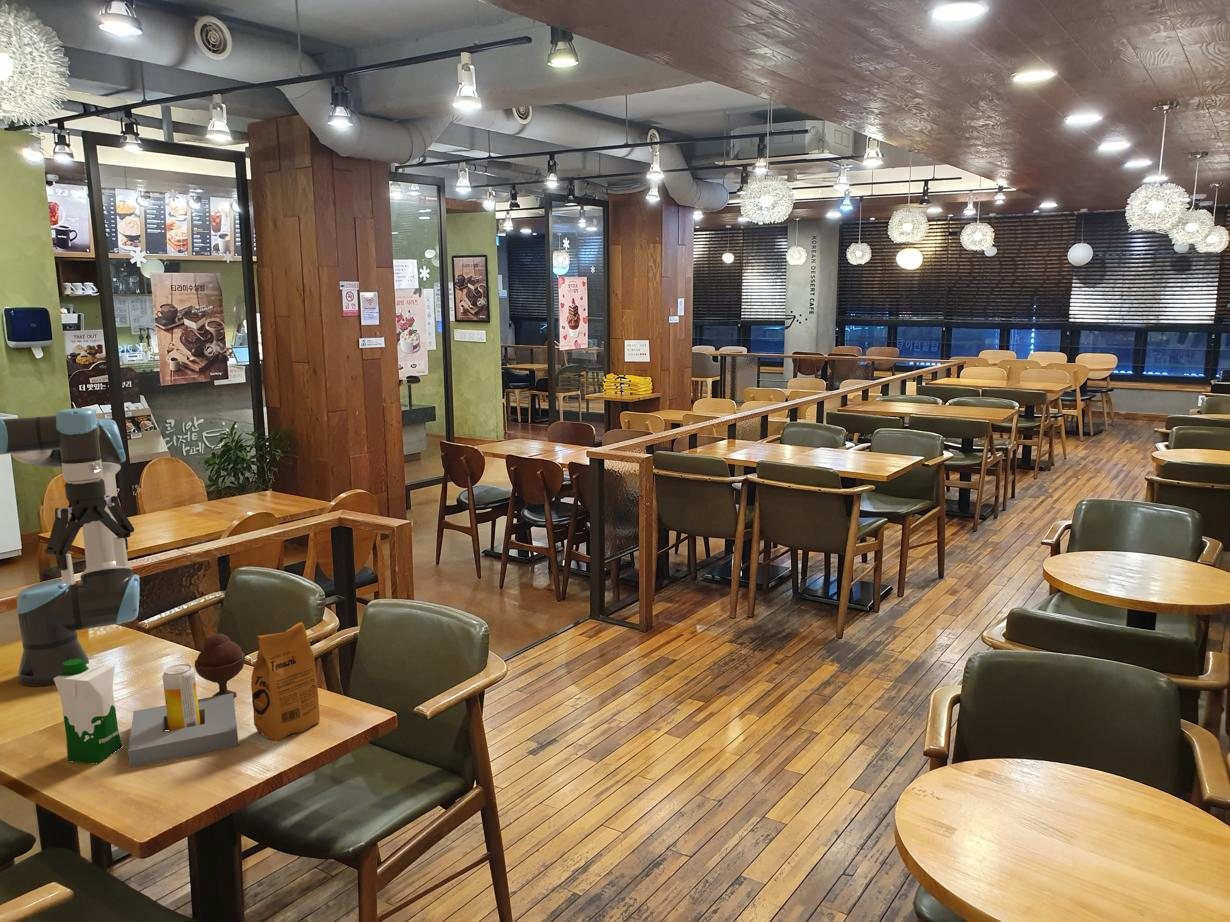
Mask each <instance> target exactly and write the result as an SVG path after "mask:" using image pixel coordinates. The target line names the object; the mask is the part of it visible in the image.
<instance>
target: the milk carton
mask: <svg viewBox="0 0 1230 922" xmlns="http://www.w3.org/2000/svg"><path fill="white" fill-rule="evenodd" d="M63 671H64V672H63V673H62V674H60V675H58V676H57V677H55V678H54V681H55V684H54V685H55V686H56V689H57V692H58V694H59V697H60V701H61V707H62V708H61V709H62V716H63V722H64V730H65V731H64V732H65V736H66V737H65V738H66V753H67V762H68V761H73V762H72V763H79V762H84V763H83V764H91V763H95V764H94V765H99V764H100V762H101V761H102V762H103V760H104V759H105V760H107V759H108V758H110V757H111V756H112V755H111V754H113V753H114V752H115V751H117V750H118V749H120V748H121V747H122V746H123V742H122V739H121V735H120V730H119V727H118V725H119V724H118V717H117V710H116V703H115V702H116V701H115V696H114V694H115V693H114V679H115V678H114V676H115V665H105V664H102V663H100V664H96V663H89V664H86V660H85V658H74V659H70V660H67V661H65V662H64V663H63ZM121 749H122V748H121ZM121 749H120V750H121ZM118 751H119V750H118ZM118 751H117V752H118ZM115 753H116V752H115ZM115 753H114V754H115ZM114 754H113V755H114ZM110 755H111V756H110ZM109 756H110V757H109ZM107 757H108V758H107ZM106 758H107V759H106ZM105 760H104V761H105ZM102 762H101V763H102ZM96 763H97V764H96Z"/></svg>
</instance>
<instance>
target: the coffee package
mask: <svg viewBox="0 0 1230 922" xmlns="http://www.w3.org/2000/svg"><path fill="white" fill-rule="evenodd" d="M256 641H257V643H258V646H259V648H258V650H257V655H256V661H255V663H254V664H253V669H252V673H251V683H250V688H251V702H252V708H253V725H254V727H255V728H256V731H257V733H259V734H262V735H263V736H264V737H266V739H268V740H271V741H276V742H277V741H281V740H282V739H285V738H286V737H287V736H289V735H292V734H296V733H297V734H298V733H303V732H305V731H306V730H308V729H310V728H311V727H313V726H314V725H316V724H318V723H320V721H321V719H320V718H321V716H320V713H321V712H320V705H319V691H318V680H317V679H318V678H317V671H316V668H317V667H316V662H315V658H314V652H313V649H312V646H311V643H310V641H309V638H308V634H307V631H306V627H305V626H304V623H303V622H297V623H296V624H294V625H292V627H290V628H289V629H287V630H286V631H285V632H278V633H271V634H270V633H269V634H262V635H257V636H256Z"/></svg>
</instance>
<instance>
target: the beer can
mask: <svg viewBox="0 0 1230 922" xmlns="http://www.w3.org/2000/svg"><path fill="white" fill-rule="evenodd" d="M196 681H197V680H196V673H195V669H194V668H193V666H192V664H189V663H179V664H178V663H177V664H174V665H171V666H168V667H166V668H165V669H164V670H163V674H162V685H163V691H164V700H165V701H164V702H165V705H166V710H167V719H168V727H169V731H171V730H176V729H181V728H186V727H191V726H197V725H200V716H199V707H198V691H197V682H196Z"/></svg>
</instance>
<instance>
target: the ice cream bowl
mask: <svg viewBox="0 0 1230 922" xmlns="http://www.w3.org/2000/svg"><path fill="white" fill-rule="evenodd" d="M245 659H246V654H245V652H243V651H242V648H241V646H240V644H238V643H236V642H234V641H231V639H230V638H229V636H228V635H226V634H224V633H214V634H212V635H210V636H209V637H207V639H206V640H205V642H204V644H203V650H202V651H200V652H199V654H198V655H197V658H196V659H195V660H194V668H195V669H194V670H196V673H197V674H198V676H199V677H201V678H202V679H203V680H205V681H208V682H211V683H215V684H218V689H219V691H217V692H216V693H214V694H213V695H212V696H211V697H214V696H220V695H225V694H231V693H233V696H234V699H236V698H237V693H236V691H233V690H230V689H228V686H227V683H228V681H230V680H232V679H233V678H235V677H236V676H237V675H239V674H240V672H242V670H243V668H244V665H245V661H246V660H245ZM235 697H236V698H235Z"/></svg>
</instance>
